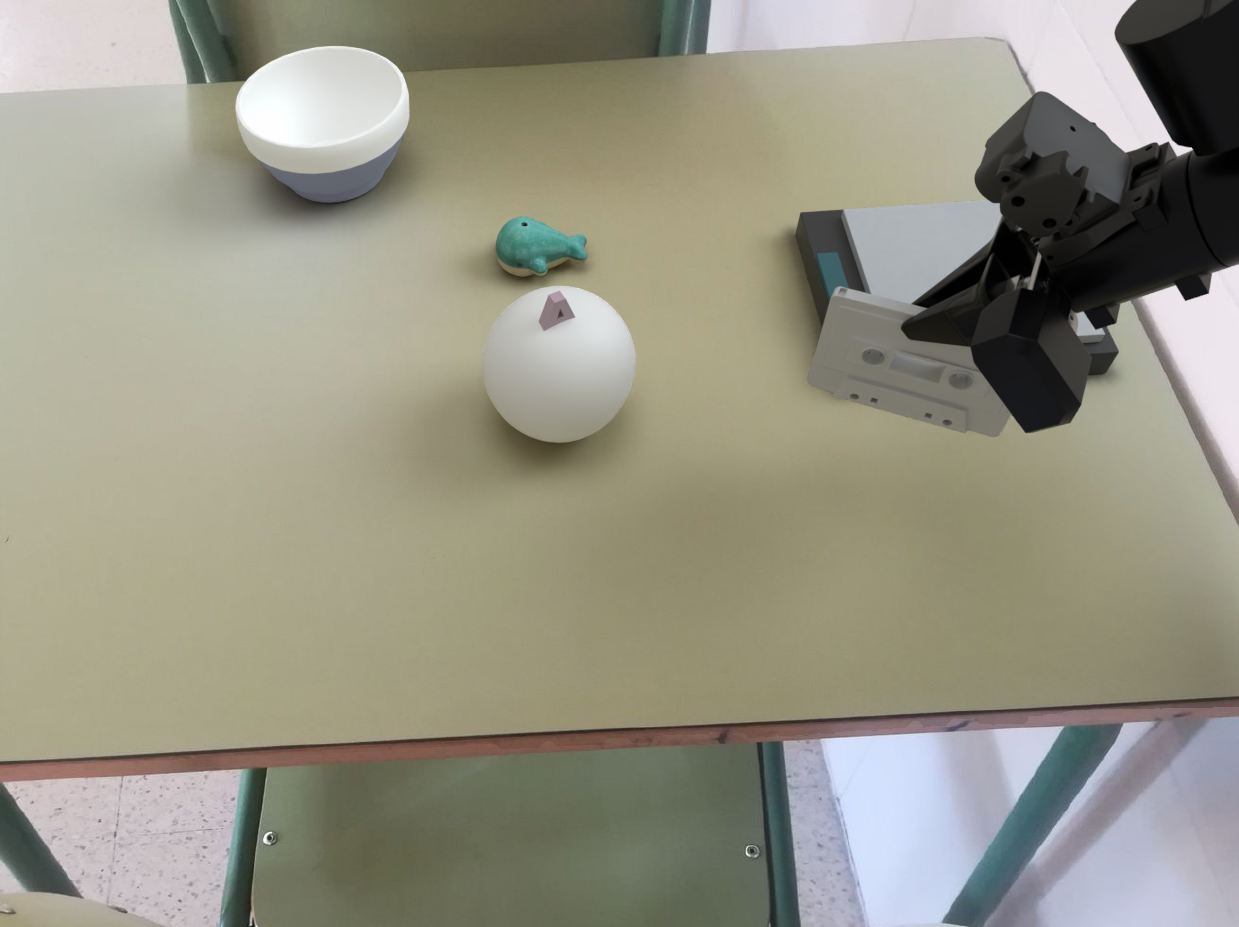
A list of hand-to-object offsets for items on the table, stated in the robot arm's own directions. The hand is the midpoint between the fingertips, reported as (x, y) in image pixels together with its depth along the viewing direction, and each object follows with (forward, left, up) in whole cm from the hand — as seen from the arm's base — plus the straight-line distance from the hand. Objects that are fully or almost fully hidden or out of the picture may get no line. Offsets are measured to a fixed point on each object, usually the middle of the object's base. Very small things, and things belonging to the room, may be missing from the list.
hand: (907, 323), depth 61 cm
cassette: (-1, 0, -7) cm, 7 cm away
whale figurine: (+25, -18, -13) cm, 33 cm away
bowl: (+45, -26, -13) cm, 54 cm away
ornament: (+21, -1, -13) cm, 25 cm away
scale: (-7, -17, -13) cm, 23 cm away
